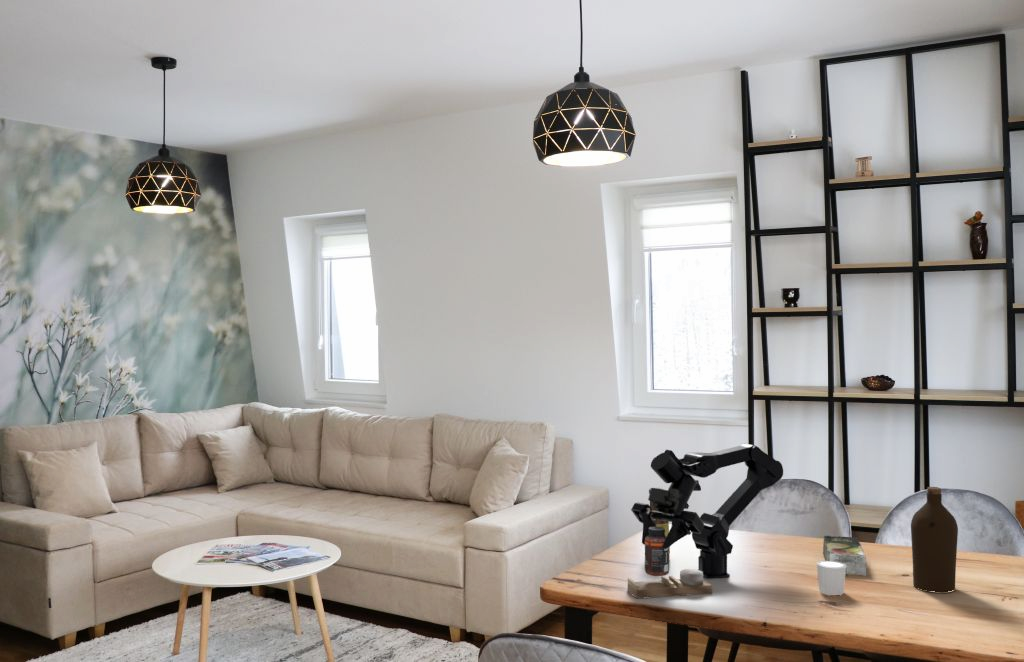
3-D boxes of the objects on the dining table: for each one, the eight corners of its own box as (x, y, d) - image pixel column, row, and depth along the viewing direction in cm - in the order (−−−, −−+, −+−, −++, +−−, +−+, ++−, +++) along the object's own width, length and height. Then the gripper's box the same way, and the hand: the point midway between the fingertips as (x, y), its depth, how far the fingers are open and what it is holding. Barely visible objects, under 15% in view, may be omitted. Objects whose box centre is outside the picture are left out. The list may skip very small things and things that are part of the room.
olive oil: (966, 594, 214) (966, 492, 214) (922, 594, 214) (922, 492, 214) (945, 581, 225) (945, 483, 225) (903, 581, 225) (903, 484, 225)
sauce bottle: (673, 558, 247) (673, 488, 247) (664, 563, 242) (664, 491, 242) (651, 555, 251) (651, 485, 251) (642, 560, 246) (642, 489, 245)
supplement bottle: (673, 575, 216) (673, 529, 216) (651, 577, 214) (651, 531, 214) (662, 569, 222) (662, 524, 222) (640, 571, 220) (640, 526, 220)
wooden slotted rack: (701, 585, 222) (701, 567, 222) (712, 593, 216) (712, 575, 216) (627, 590, 218) (627, 572, 218) (636, 598, 212) (636, 579, 212)
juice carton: (869, 577, 229) (868, 553, 229) (829, 575, 232) (828, 552, 232) (858, 558, 249) (858, 536, 249) (822, 556, 251) (821, 534, 251)
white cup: (832, 598, 212) (832, 569, 212) (810, 590, 218) (810, 562, 218) (852, 594, 215) (852, 565, 215) (830, 586, 221) (830, 558, 221)
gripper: (635, 471, 227) (609, 520, 219) (697, 480, 214) (672, 533, 206) (653, 496, 233) (628, 546, 225) (714, 507, 220) (690, 560, 212)
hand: (653, 545), depth 217 cm, fingers closed on supplement bottle, 6 cm apart
